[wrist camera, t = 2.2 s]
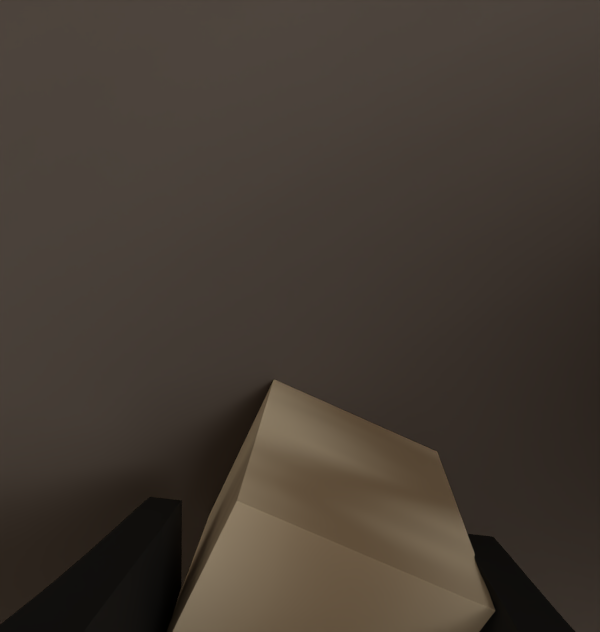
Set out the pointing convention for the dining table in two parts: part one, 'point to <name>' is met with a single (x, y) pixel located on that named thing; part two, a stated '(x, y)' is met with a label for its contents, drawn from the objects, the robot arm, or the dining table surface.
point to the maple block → (332, 533)
